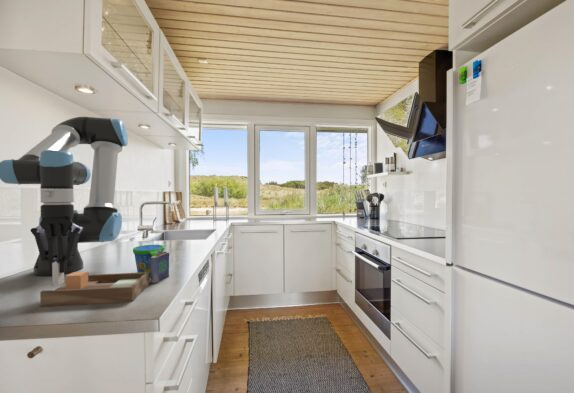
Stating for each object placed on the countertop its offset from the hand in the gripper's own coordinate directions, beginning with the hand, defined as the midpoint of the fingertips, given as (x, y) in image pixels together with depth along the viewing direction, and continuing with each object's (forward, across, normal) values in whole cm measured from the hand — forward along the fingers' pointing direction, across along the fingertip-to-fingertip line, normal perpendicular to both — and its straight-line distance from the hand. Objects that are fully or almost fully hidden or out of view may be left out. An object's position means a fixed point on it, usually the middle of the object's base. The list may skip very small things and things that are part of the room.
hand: (58, 283), depth 83 cm
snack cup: (+4, +19, +20) cm, 28 cm away
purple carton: (+4, +25, +12) cm, 28 cm away
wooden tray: (+4, +11, 0) cm, 12 cm away
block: (+1, +5, 0) cm, 5 cm away
